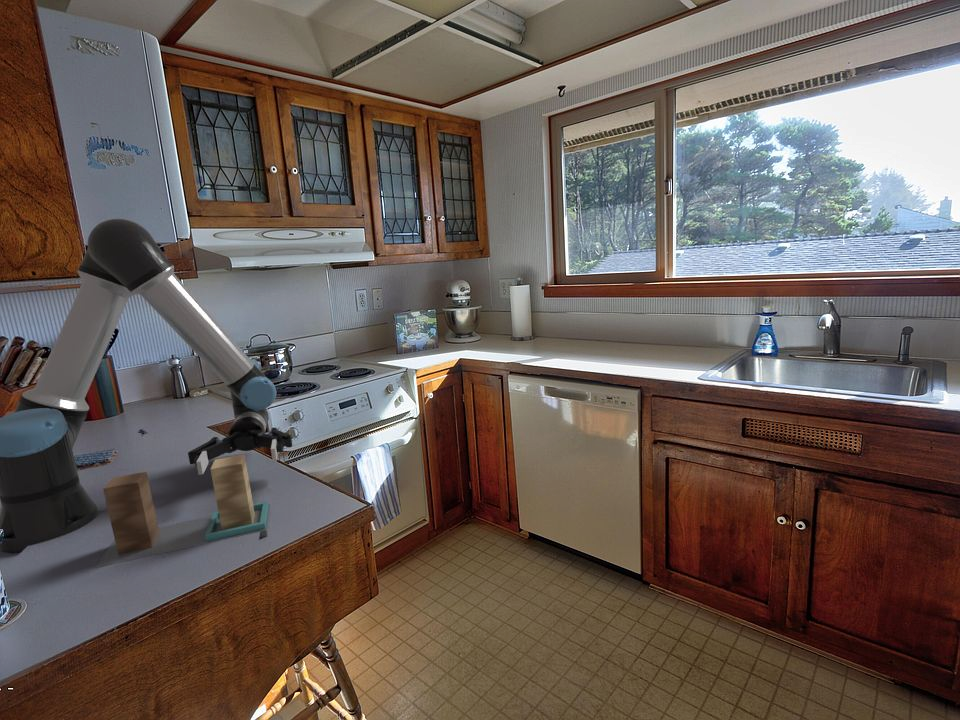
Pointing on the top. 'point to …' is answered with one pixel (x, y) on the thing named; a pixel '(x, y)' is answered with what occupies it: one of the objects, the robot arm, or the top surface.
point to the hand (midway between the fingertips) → (237, 461)
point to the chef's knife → (143, 431)
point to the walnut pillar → (131, 512)
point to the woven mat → (94, 459)
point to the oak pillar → (232, 492)
